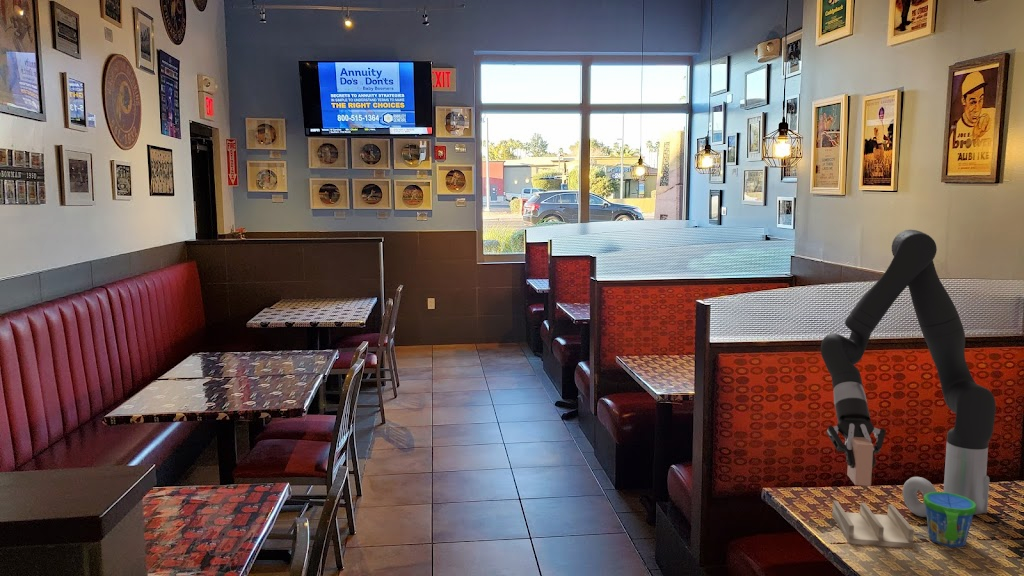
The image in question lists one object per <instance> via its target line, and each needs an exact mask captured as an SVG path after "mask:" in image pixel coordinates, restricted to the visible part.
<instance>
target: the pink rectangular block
mask: <svg viewBox="0 0 1024 576" xmlns="http://www.w3.org/2000/svg"><path fill="white" fill-rule="evenodd" d="M873 446H874V444H873V443H872V441H871V442H870V441H869V440H868V439H865V438H864V437H853V438H852V451H853V453H854V459H855V467H854V468H850V466H849V465H848V464H847V471H846V472H847V474H846V475H847V477H848V478H849V479H850V481H851V482H852V483H853V484H854V486H862V487H863V486H864V487H868V486H869V487H871V486H872V474H873V472H872V471H873V468H872V459H873Z"/></svg>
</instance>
